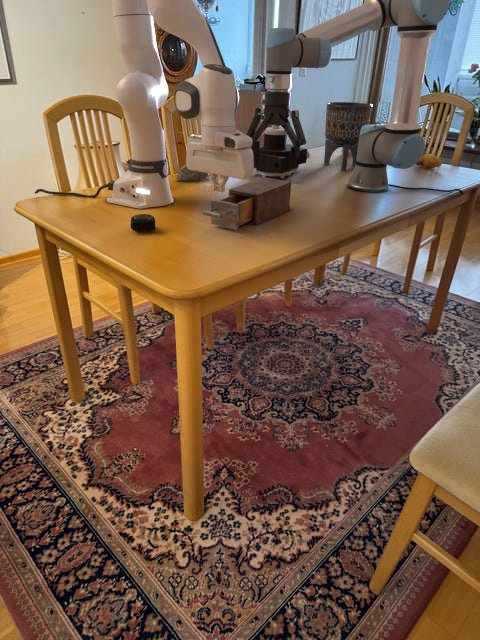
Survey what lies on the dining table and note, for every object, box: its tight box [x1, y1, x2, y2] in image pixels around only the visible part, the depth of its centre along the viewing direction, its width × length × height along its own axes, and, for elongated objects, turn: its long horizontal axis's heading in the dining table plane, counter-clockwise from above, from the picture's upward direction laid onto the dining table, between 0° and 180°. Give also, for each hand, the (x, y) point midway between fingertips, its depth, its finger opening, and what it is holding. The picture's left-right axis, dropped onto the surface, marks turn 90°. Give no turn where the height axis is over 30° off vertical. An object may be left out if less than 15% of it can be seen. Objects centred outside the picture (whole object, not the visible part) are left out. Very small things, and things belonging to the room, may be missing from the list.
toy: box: [415, 153, 443, 170], centre depth 212 cm, size 11×6×15 cm
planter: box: [323, 101, 374, 172], centre depth 204 cm, size 20×20×26 cm
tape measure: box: [130, 213, 156, 233], centre depth 129 cm, size 7×7×4 cm
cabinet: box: [228, 176, 292, 226], centre depth 143 cm, size 20×10×9 cm, turn 145°
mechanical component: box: [254, 125, 311, 179], centre depth 191 cm, size 22×21×30 cm
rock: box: [176, 163, 209, 183], centre depth 181 cm, size 13×9×6 cm, turn 131°
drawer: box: [202, 194, 254, 231], centre depth 134 cm, size 25×9×7 cm, turn 145°
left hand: (218, 191), depth 123 cm, fingers closed
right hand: (273, 165), depth 143 cm, fingers open, 13 cm apart
